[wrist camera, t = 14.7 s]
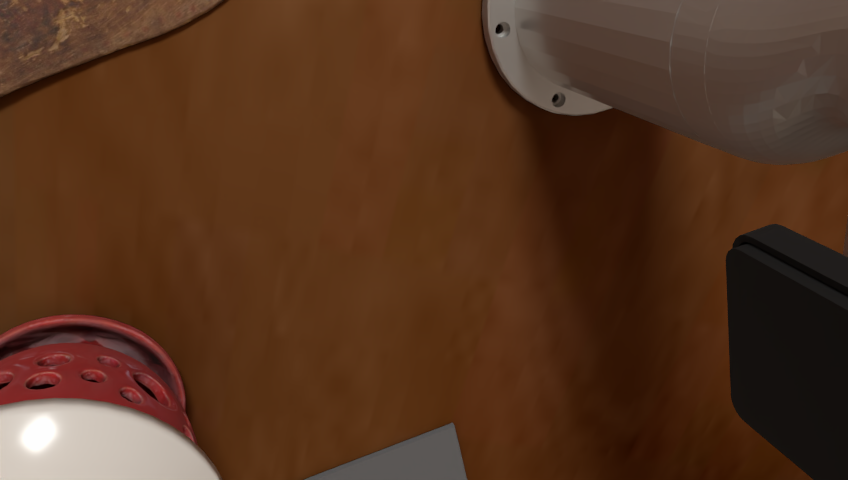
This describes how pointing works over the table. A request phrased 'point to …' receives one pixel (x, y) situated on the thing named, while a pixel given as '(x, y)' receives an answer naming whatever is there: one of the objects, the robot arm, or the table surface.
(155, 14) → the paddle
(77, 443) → the lid
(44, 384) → the plant pot
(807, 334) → the robot arm
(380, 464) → the mat
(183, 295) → the table surface
